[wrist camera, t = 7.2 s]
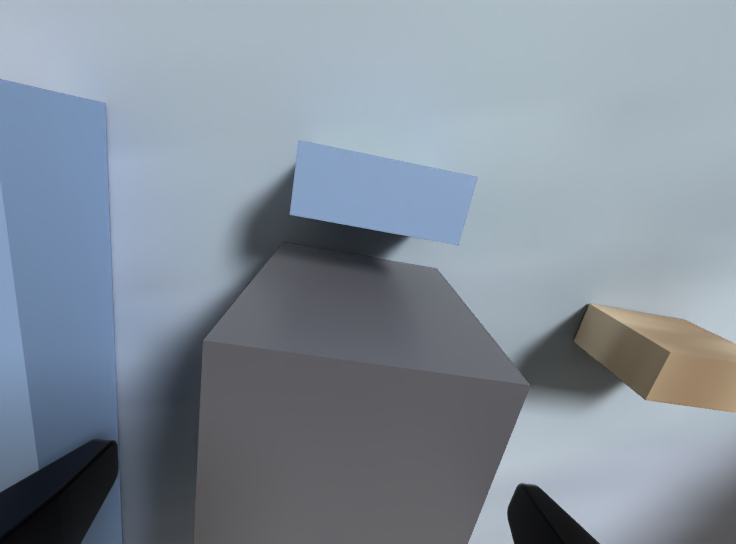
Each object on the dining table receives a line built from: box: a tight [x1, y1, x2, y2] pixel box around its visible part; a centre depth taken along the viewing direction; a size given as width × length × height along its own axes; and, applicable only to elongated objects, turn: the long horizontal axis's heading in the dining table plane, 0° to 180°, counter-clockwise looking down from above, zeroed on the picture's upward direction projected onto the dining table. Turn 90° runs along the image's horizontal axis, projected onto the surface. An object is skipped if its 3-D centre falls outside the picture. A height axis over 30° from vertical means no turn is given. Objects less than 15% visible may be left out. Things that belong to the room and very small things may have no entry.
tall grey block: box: [193, 242, 530, 544], centre depth 8 cm, size 4×9×5 cm, turn 169°
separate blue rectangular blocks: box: [0, 79, 477, 544], centre depth 8 cm, size 8×14×2 cm, turn 169°
